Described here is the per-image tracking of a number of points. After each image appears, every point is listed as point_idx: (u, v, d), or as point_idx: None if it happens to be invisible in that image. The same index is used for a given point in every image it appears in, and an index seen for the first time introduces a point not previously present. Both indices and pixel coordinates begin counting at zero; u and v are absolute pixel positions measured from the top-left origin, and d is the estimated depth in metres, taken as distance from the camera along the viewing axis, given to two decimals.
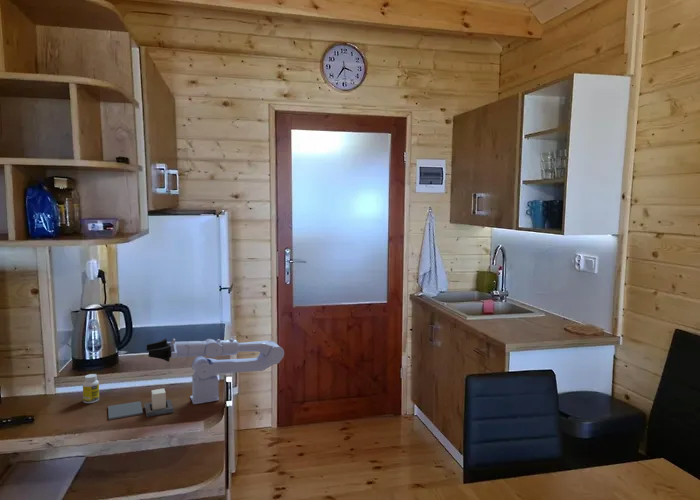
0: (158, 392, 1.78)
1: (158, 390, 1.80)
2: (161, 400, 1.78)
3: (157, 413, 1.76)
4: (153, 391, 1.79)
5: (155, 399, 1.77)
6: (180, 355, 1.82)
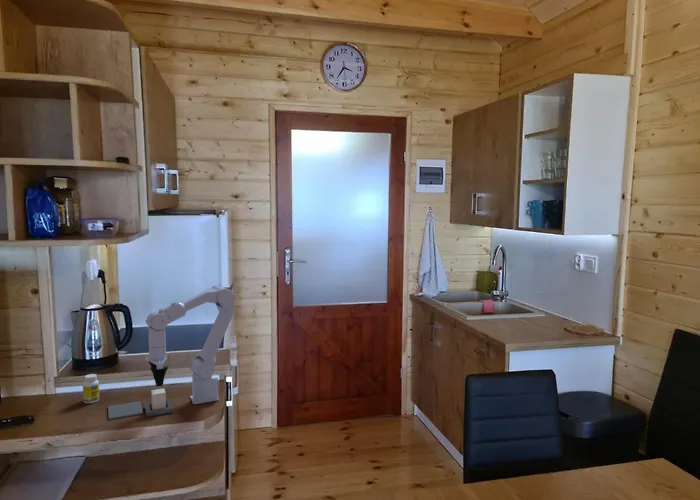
0: (158, 392, 1.78)
1: (158, 390, 1.80)
2: (161, 400, 1.78)
3: (157, 413, 1.76)
4: (153, 391, 1.79)
5: (155, 399, 1.77)
6: (163, 353, 1.76)
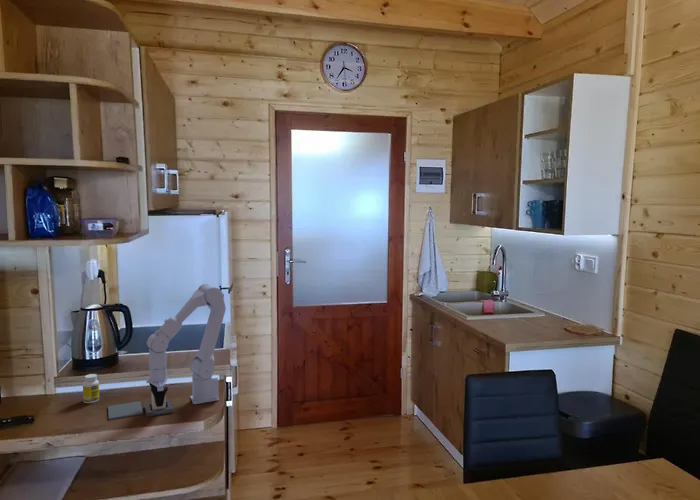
0: None
1: None
2: None
3: (157, 413, 1.76)
4: None
5: None
6: (163, 375, 1.77)
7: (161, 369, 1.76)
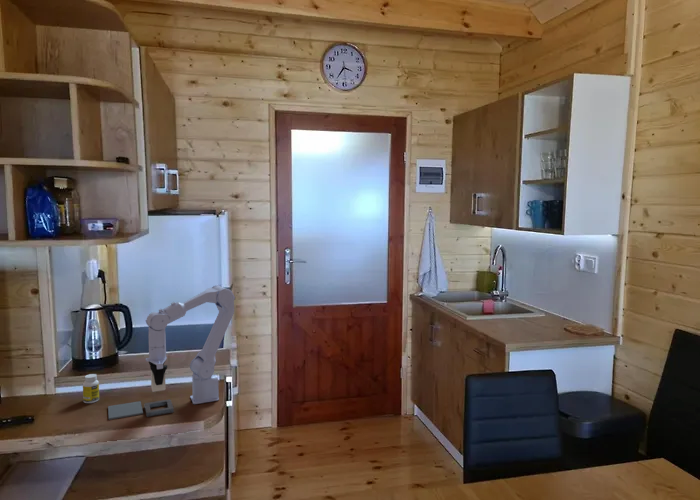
0: None
1: None
2: None
3: (157, 413, 1.76)
4: None
5: None
6: (163, 353, 1.76)
7: (160, 347, 1.76)
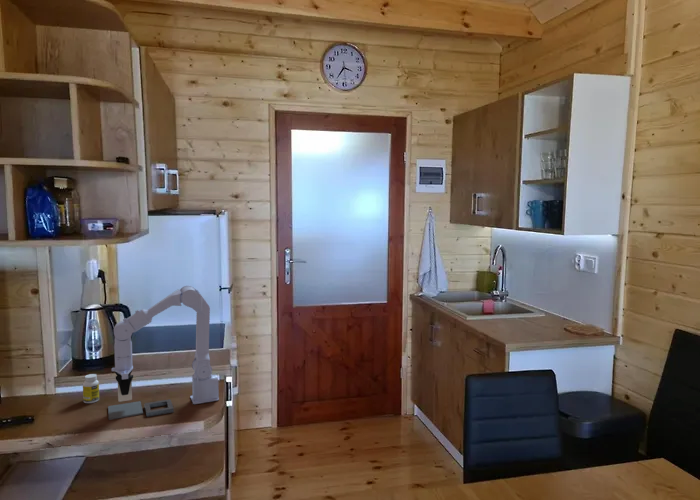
0: None
1: None
2: None
3: (157, 413, 1.76)
4: None
5: None
6: (129, 363, 1.75)
7: (126, 357, 1.74)
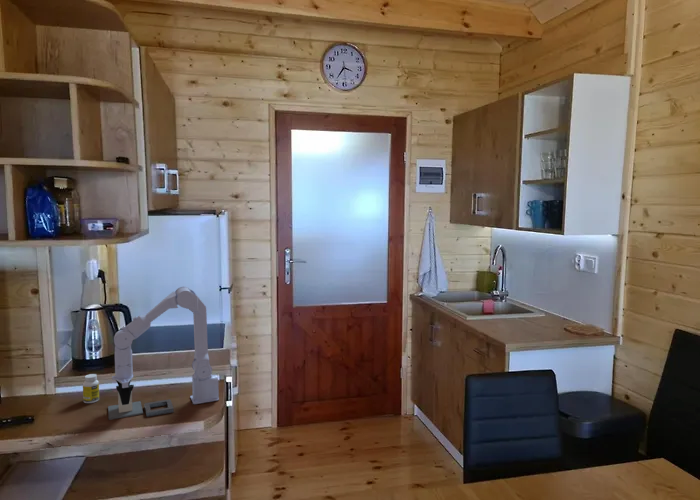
0: None
1: None
2: None
3: (157, 413, 1.76)
4: None
5: None
6: (129, 371, 1.76)
7: (127, 365, 1.75)
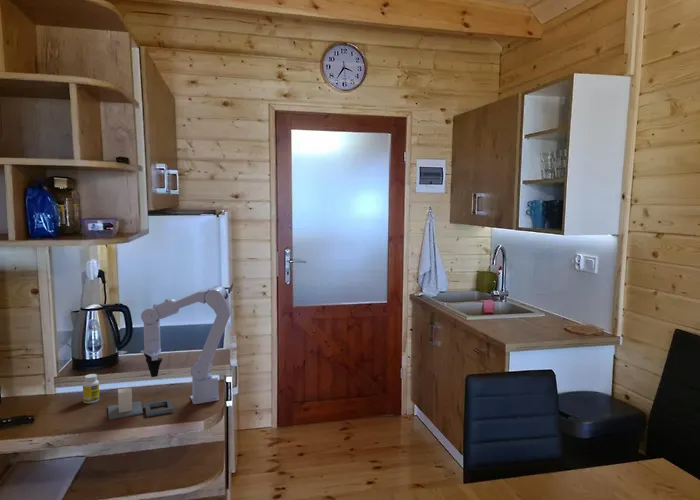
0: (124, 391, 1.77)
1: (124, 389, 1.79)
2: (127, 399, 1.76)
3: (157, 413, 1.76)
4: (119, 390, 1.78)
5: (121, 398, 1.75)
6: (157, 345, 1.85)
7: (155, 340, 1.84)
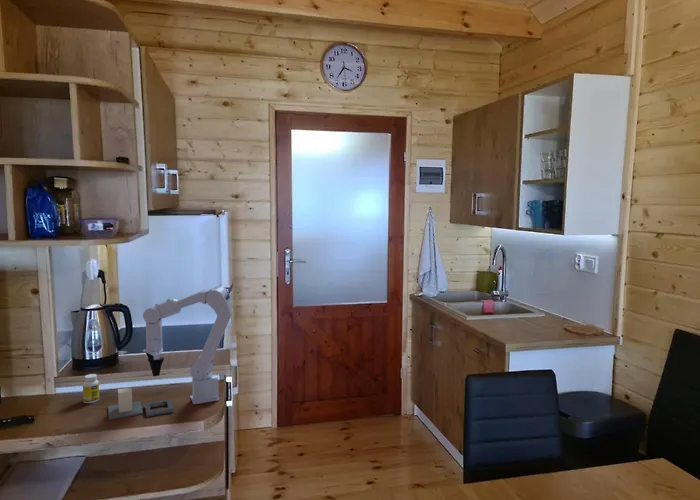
0: (124, 391, 1.77)
1: (124, 389, 1.79)
2: (127, 399, 1.76)
3: (157, 413, 1.76)
4: (119, 390, 1.78)
5: (121, 398, 1.75)
6: (159, 345, 1.86)
7: (157, 339, 1.85)
